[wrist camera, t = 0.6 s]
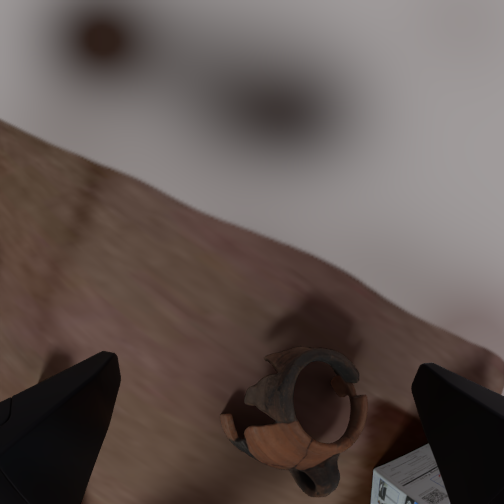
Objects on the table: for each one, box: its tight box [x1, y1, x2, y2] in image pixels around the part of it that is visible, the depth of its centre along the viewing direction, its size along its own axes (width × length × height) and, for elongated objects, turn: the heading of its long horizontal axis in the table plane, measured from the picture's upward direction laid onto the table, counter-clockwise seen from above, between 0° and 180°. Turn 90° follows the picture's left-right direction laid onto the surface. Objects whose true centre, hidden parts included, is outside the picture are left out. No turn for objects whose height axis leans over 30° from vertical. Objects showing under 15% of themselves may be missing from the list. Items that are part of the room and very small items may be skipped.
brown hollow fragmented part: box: [220, 346, 368, 497], centre depth 20 cm, size 12×10×8 cm
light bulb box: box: [371, 443, 450, 504], centre depth 18 cm, size 11×7×11 cm, turn 97°
